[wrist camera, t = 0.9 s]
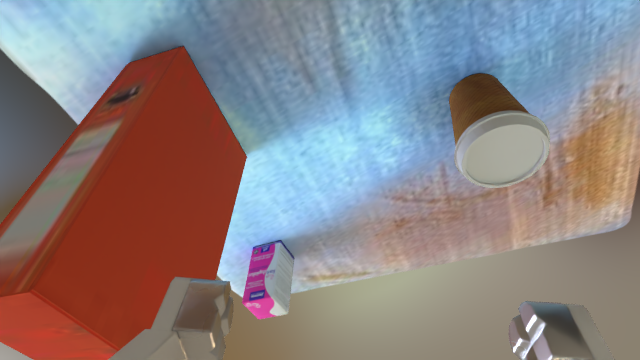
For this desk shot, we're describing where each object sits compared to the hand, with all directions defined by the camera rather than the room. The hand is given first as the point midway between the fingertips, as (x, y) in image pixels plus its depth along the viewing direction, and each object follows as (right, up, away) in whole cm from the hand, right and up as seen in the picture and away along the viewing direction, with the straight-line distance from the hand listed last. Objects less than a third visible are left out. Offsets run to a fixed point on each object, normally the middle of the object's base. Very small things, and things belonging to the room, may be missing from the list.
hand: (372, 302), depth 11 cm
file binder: (-18, +12, +42) cm, 47 cm away
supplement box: (-10, -9, +62) cm, 64 cm away
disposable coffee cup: (+18, +14, +39) cm, 45 cm away
